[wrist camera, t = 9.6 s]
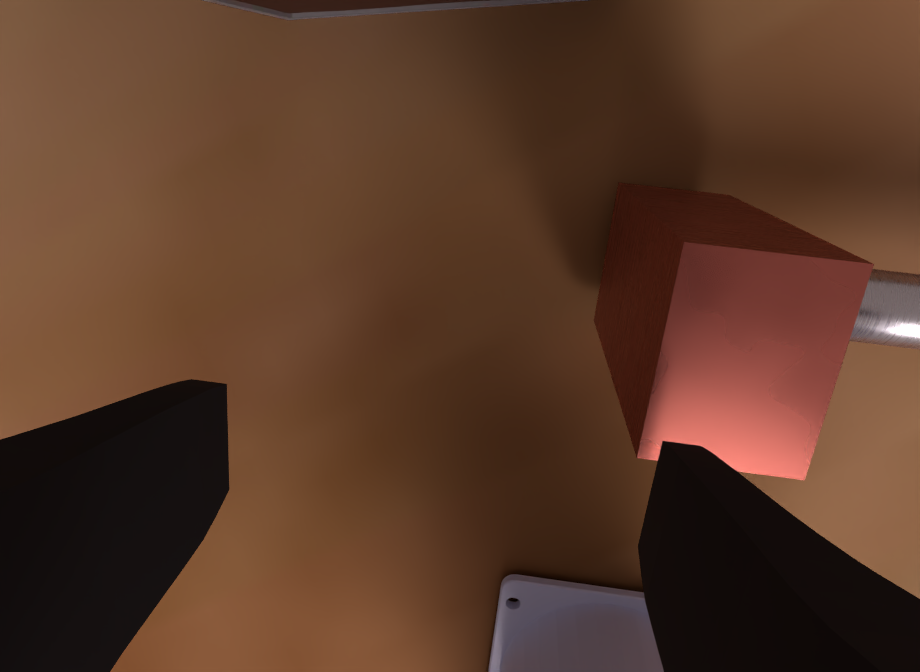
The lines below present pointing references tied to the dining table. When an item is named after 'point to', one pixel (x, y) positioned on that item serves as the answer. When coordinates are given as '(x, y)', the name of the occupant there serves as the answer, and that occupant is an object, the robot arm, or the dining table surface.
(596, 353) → the dining table surface
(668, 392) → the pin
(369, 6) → the food container
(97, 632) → the robot arm
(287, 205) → the dining table surface
